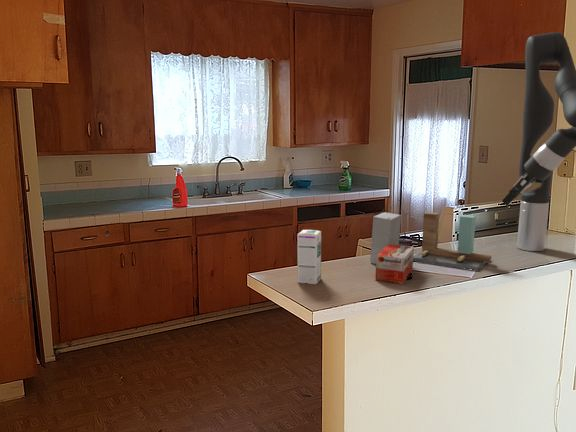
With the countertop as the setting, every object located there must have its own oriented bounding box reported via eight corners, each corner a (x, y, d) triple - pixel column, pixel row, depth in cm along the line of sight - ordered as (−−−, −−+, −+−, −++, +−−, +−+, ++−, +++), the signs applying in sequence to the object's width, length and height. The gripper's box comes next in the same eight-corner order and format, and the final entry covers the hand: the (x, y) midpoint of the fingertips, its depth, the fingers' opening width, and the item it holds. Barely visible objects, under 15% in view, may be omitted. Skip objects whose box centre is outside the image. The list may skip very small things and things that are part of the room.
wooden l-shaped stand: (425, 250, 187) (427, 211, 185) (491, 259, 175) (494, 218, 173) (416, 255, 180) (418, 215, 177) (484, 265, 168) (488, 223, 166)
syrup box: (316, 284, 152) (317, 234, 149) (296, 282, 153) (297, 232, 151) (321, 279, 157) (322, 230, 155) (301, 277, 159) (302, 228, 156)
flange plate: (427, 251, 191) (428, 247, 191) (489, 260, 180) (489, 256, 179) (411, 260, 178) (411, 256, 177) (477, 271, 166) (477, 266, 166)
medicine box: (402, 285, 153) (404, 257, 151) (374, 281, 156) (375, 254, 155) (413, 271, 166) (414, 246, 165) (387, 268, 170) (388, 243, 168)
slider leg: (460, 254, 181) (463, 214, 178) (472, 256, 178) (475, 215, 176) (452, 260, 173) (455, 218, 171) (465, 261, 171) (468, 220, 169)
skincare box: (380, 258, 181) (382, 211, 178) (400, 261, 177) (402, 214, 174) (368, 263, 174) (370, 215, 171) (389, 267, 170) (391, 217, 167)
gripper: (540, 149, 168) (505, 186, 177) (528, 157, 157) (492, 197, 167) (560, 164, 166) (524, 201, 175) (549, 174, 155) (511, 213, 164)
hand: (508, 199), depth 171 cm, fingers open, 8 cm apart
